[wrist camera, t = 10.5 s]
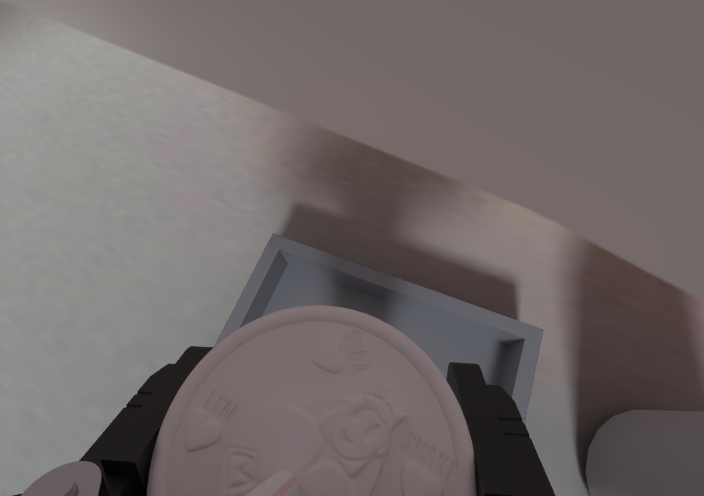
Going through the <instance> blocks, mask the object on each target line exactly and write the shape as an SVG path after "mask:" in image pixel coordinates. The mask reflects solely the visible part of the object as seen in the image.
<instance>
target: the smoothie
mask: <svg viewBox="0 0 704 496" xmlns="http://www.w3.org/2000/svg"><path fill="white" fill-rule="evenodd" d="M147 496H477V487H476V471H475V456H474V450H473V445H472V441H471V437H470V433H469V430H468V426H467V423H466V420H465V418H464V415H463V412H462V410H461V407H460V405H459V403H458V401H457V399H456V397H455V395H454V393H453V391H452V389H451V387H450V386H449V384H448V382H447V381H446V379H445V377H444V376H443V375H442V373H441V372H440V370H439V369H438V368H437V366H436V365H435V364H434V363H433V361H432V360H431V359H430V358H429V357H428V356H427V354H426V353H425V352H424V351H423V350H422V349H421V348H420V347H418V346H417V345H416V344H415V343H414V342H413V341H412V340H411V339H409V338H408V337H407V336H406V335H404V334H403V333H402V332H400V331H399V330H397V329H396V328H394V327H392V326H391V325H389V324H387V323H385V322H383V321H382V320H380V319H378V318H375V317H373V316H370V315H368V314H365V313H362V312H359V311H356V310H352V309H347V308H342V307H336V306H326V305H311V306H300V307H294V308H289V309H284V310H280V311H277V312H273V313H270V314H268V315H265V316H263V317H260V318H258V319H256V320H254V321H252V322H250V323H248V324H246V325H244V326H242V327H241V328H239V329H238V330H236V331H234V332H233V333H231V334H230V335H229V336H227V337H226V338H225V339H223V340H222V341H221V342H220V343H219V344H217V345H216V346H215V347H214V348H213V349H212V350H211V351H210V352H209V353H208V354H207V355H206V356H205V357H204V358H203V359H202V360H201V361H200V362H199V363H198V364H197V366H196V367H195V368H194V369H193V371H192V372H191V373H190V374H189V376H188V377H187V379H186V380H185V382H184V383H183V385H182V386H181V387H180V389H179V391H178V392H177V394H176V396H175V398H174V400H173V401H172V403H171V405H170V407H169V409H168V412H167V414H166V416H165V418H164V420H163V423H162V426H161V428H160V431H159V434H158V437H157V440H156V444H155V447H154V451H153V455H152V460H151V465H150V470H149V478H148V486H147Z"/></svg>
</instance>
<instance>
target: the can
mask: <svg viewBox="0 0 704 496" xmlns="http://www.w3.org/2000/svg"><path fill="white" fill-rule="evenodd" d="M586 478H587V483H588V489H589V494H590V496H704V411H671V410H637V409H632V410H629V411H626V412H623V413H620V414H617V415H614V416H612V417H611V418H610V419H609V420H608V421H607V422H606V423H604V424H603V425H602V426H601V427H600V428H599V429H598V430H597V432H596V434H595V436H594V438H593V440H592V442H591V444H590V446H589V448H588V456H587V465H586Z"/></svg>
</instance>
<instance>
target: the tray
mask: <svg viewBox="0 0 704 496" xmlns="http://www.w3.org/2000/svg"><path fill="white" fill-rule="evenodd" d="M311 305H326V306H336V307H342V308H347V309H352V310H356V311H359V312H362V313H365V314H368V315H370V316H373V317H375V318H378V319H380V320H382V321H383V322H385V323H387V324H389V325H391V326H392V327H394V328H396V329H397V330H399V331H400V332H402V333H403V334H404V335H406V336H407V337H408V338H409V339H411V340H412V341H413V342H414V343H415V344H416V345H417V346H418V347H420V348H421V349H422V350H423V351H424V352H425V353H426V354H427V356H428V357H429V358H430V359H431V360H432V361H433V363H434V364H435V365H436V366H437V368H438V369H439V370H440V372H441V373H442V375H443V376H444V377H445V379H446V378H447V371H448V365H449V363H450V362H456V363H473V364H478V365H479V366H480V368H481V371H482V374H483V376H484V379H485V382H486V385H500V386H501V387H502V388H503V389H504V390H505V391H506V392H507V393H508V395H509V396H510V397H511V398H512V399H513V400H514V401H515V403H516V405H517V408H518V410H519V412H520V415H521V417H522V422H523V423H525V418H526V413H527V408H528V403H529V398H530V393H531V389H532V384H533V379H534V374H535V369H536V364H537V359H538V354H539V350H540V345H541V340H542V335H543V329H540V328H537V327H535V326H532V325H529V324H526V323H523V322H521V321H518V320H515V319H512V318H509V317H507V316H504V315H501V314H498V313H495V312H493V311H490V310H487V309H484V308H481V307H478V306H476V305H473V304H470V303H467V302H464V301H462V300H459V299H456V298H453V297H450V296H448V295H445V294H442V293H439V292H436V291H434V290H431V289H428V288H425V287H422V286H420V285H417V284H414V283H411V282H408V281H406V280H403V279H400V278H397V277H394V276H392V275H389V274H386V273H383V272H380V271H378V270H375V269H372V268H369V267H366V266H364V265H361V264H358V263H355V262H352V261H350V260H347V259H344V258H341V257H338V256H336V255H333V254H330V253H327V252H324V251H322V250H319V249H316V248H313V247H310V246H308V245H305V244H302V243H299V242H296V241H294V240H291V239H288V238H285V237H282V236H280V235H277V234H274V233H273V234H272V236H271V238H270V240H269V242H268V244H267V246H266V248H265V250H264V252H263V254H262V256H261V258H260V259H259V261H258V263H257V265H256V267H255V269H254V271H253V273H252V275H251V277H250V279H249V281H248V283H247V284H246V286H245V288H244V290H243V292H242V294H241V296H240V298H239V300H238V302H237V304H236V306H235V308H234V310H233V311H232V313H231V315H230V317H229V319H228V321H227V323H226V325H225V327H224V329H223V331H222V333H221V335H220V336H219V338H218V340H217V342H216V344H215V346H216V345H217V344H219V343H220V342H221V341H222V340H223V339H225V338H226V337H227V336H229V335H230V334H231V333H233V332H234V331H236V330H238V329H239V328H241V327H242V326H244V325H246V324H248V323H250V322H252V321H254V320H256V319H258V318H260V317H263V316H265V315H268V314H270V313H273V312H277V311H280V310H284V309H289V308H294V307H300V306H311ZM215 346H214V347H215Z"/></svg>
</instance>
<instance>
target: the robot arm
mask: <svg viewBox="0 0 704 496" xmlns="http://www.w3.org/2000/svg"><path fill="white" fill-rule="evenodd" d="M213 348H214V347H198V346H191V347H189V348H188V349H187V350H186V351H185V352H184V353H183V355H182V356H181V357H180V359H179V360H178V361H177V362H176V364H167V365H166V366H165V367H163V368H162V369H160V370H159V371H157V372H156V373H154V374H153V375H152V376H150V377H149V379H148V380H147V381H146V382H145V383H144V385H143V386H142V387H141V388H140V389H139V390H138V393H137V395H134V396H133V398H132V399H131V400H130V401H129V402H128V404H127V407H126V408H123V410H122V411H121V412H120V413H119V414H118V415H117V417H116V418H115V419H114V420H113V421H112V423H111V424H110V425H109V426H108V427H107V429H106V430H105V431H104V432H103V433H102V435H101V436H100V437H99V438H98V439H97V440H96V442H95V443H94V444H93V445H92V446H91V448H90V449H89V450H88V451H87V452H86V454H85V455H84V456H83V457H82V458H81V459H80V460H79V461H78V462H72V463H68V464H65V465H62V466H60V467H58V468H55V469H53V470H51V471H50V472H48V473H46V474H45V475H43V476H42V477H40V478H39V479H38V480H36V481H35V482H34V483H33V484H31V485H30V486H29V487H28V488H27V489H26V490H25V491H24V493H23V494H18V495H14V496H147V486H148V478H149V470H150V465H151V460H152V455H153V451H154V447H155V444H156V440H157V437H158V434H159V431H160V428H161V426H162V423H163V420H164V418H165V416H166V414H167V412H168V409H169V407H170V405H171V403H172V401H173V400H174V398H175V396H176V394H177V392H178V391H179V389H180V387H181V386H182V385H183V383H184V382H185V380H186V379H187V377H188V376H189V374H190V373H191V372H192V371H193V369H194V368H195V367H196V366H197V364H198V363H199V362H200V361H201V360H202V359H203V358H204V357H205V356H206V355H207V354H208V353H209V352H210V351H211V350H212V349H213ZM446 381H447V382H448V384H449V386H450V387H451V389H452V391H453V393H454V395H455V397H456V399H457V401H458V403H459V405H460V407H461V410H462V412H463V415H464V418H465V420H466V423H467V426H468V430H469V433H470V437H471V441H472V445H473V450H474V456H475V471H476V487H477V496H555V494H554V492H553V489H552V487H551V485H550V482H549V480H548V478H547V475H546V473H545V471H544V468H543V466H542V464H541V461H540V459H539V457H538V454H537V452H536V450H535V447H534V445H533V443H532V440H531V438H529V433H528V431H527V429H526V426H525V424H524V423H523V422H522V417H521V415H520V412H519V410H518V408H517V405H516V403H515V401H514V400H513V399H512V398H511V397H510V396H509V395H508V393H507V392H506V391H505V390H504V389H503V388H502V387H501V386H500V385H486V382H485V379H484V376H483V374H482V371H481V368H480V366H479V365H478V364H473V363H456V362H450V363H449V365H448V371H447V378H446Z"/></svg>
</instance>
